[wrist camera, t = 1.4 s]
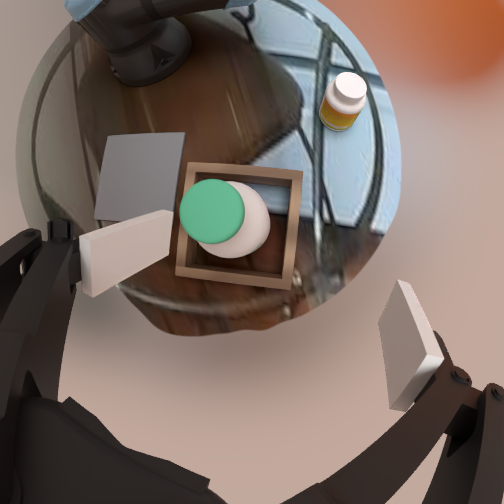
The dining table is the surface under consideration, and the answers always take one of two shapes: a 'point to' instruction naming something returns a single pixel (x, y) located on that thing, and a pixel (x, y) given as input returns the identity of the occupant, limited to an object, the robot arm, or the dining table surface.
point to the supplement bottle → (343, 101)
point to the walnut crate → (246, 175)
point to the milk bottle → (225, 217)
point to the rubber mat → (139, 175)
